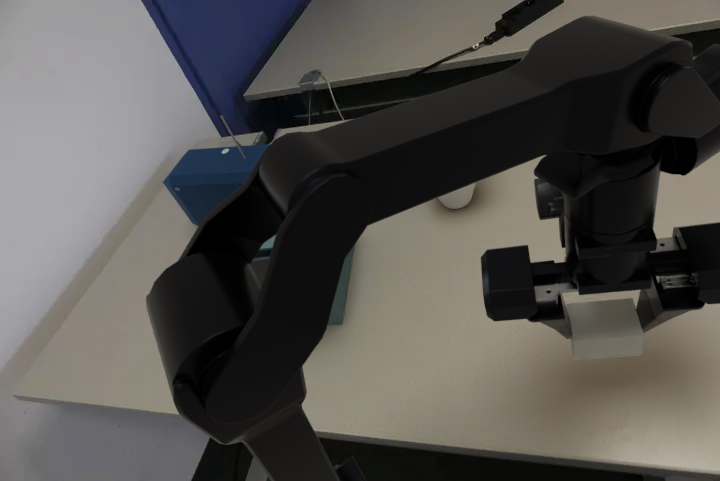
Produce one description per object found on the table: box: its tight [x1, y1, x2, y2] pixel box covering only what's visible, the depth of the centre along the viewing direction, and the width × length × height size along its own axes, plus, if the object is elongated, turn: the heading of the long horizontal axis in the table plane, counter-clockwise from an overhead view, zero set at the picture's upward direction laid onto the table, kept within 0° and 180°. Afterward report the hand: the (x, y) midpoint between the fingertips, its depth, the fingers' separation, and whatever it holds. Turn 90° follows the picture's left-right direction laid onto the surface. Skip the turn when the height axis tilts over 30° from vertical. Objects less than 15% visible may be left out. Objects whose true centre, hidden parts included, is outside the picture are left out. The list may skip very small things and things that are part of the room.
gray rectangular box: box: [565, 297, 645, 360], centre depth 46 cm, size 4×6×3 cm
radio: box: [162, 115, 271, 227], centre depth 83 cm, size 21×9×20 cm, turn 72°
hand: (603, 331), depth 47 cm, fingers closed on gray rectangular box, 5 cm apart
